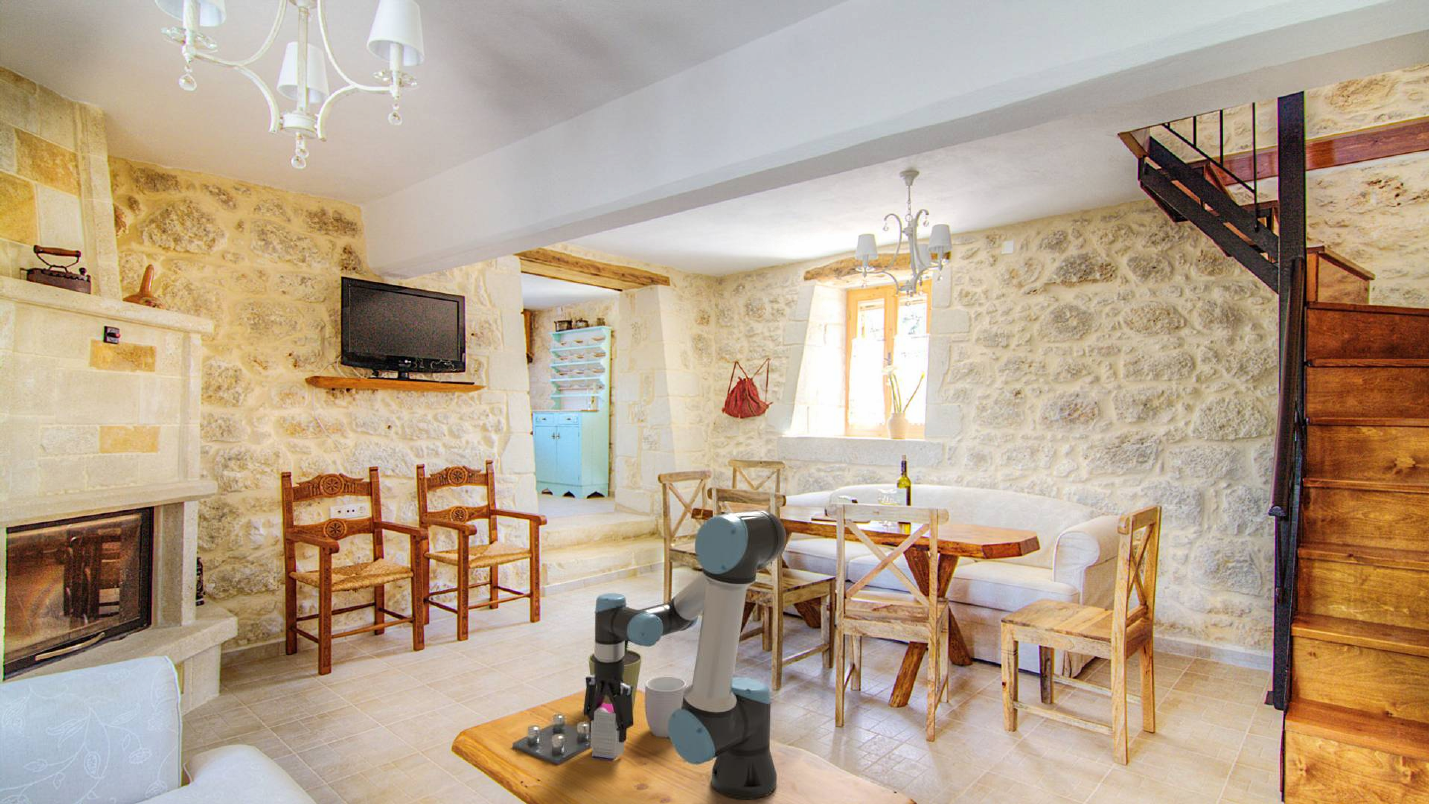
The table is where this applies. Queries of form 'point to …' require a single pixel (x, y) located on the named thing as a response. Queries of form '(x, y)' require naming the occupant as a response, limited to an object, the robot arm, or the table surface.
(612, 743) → the supplement box
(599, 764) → the table surface
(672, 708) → the mug
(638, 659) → the potted cactus
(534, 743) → the chassis
